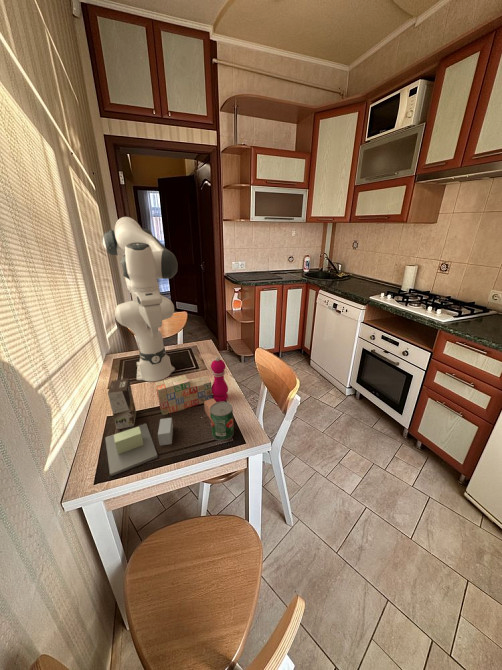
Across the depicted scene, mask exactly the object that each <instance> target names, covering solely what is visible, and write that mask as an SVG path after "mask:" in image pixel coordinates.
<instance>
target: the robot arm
mask: <svg viewBox="0 0 502 670" xmlns="http://www.w3.org/2000/svg"><path fill="white" fill-rule="evenodd" d="M102 245H103V247H104V249H105V250H106V252H107V253H108V254H109V255H110V256H122V257H121V259H120V260H119V261H120V264H121V267H122V272H123V275H122V276H123V277H124V280H125V284H126V288H127V291H128V292H129V293H130V295H131V298H132V300H129V301H125V302H121V303H119V304H117V306H116V307H115V309H114V318H115V319H116V321H117V323H119V324H120V325H121V326H123V327H125V328H126V329H127V328H128V329H129V330H131V332H132V333H133V334H134V335H135V337H136V339H137V344H138V347H139V354H138V355H139V361H136V367H137V369H136V380H137V381H145V382H159V381H163V380H164V379H166V378H168V377H169V376H171V374H172V373H173V372H174V371H175V370H176V368H175V367H174V366H173V365H172V364H171V359H170V356H169V355H167V353H166V347H165V346H164V345H165V344H164V339H163V334H162V332H161V331H160V330H159V328H161V327H162V326H163V321H166V320H168V319H170V318H172V317H173V315H174V313H175V305H174V303H173V302H172V300H171V299H170V298H168V297H166V296H164V295H162V294H161V292H160V288H159V287H160V286H159V285H160V284H159V282H158V279H159V280H160V279H161V280H162V279H165V280H167V279H168V280H170V279H172V278H174V277H175V275H176V274H177V272H178V261H177V260H178V259H177V258H176V255H175V254H174V253H173V252H171V250H169V249H167V248H166V247H165V246H164V245H163V243H162V242H161V241H160V240H159V239H158V238H157V237H156V236H154V234H153V232H152V231H151V230H150V229H147V228H142V227H141V225H140V224H139V223H138V222H137V221H136V220H135V219H133V218H132V217H129V216H123V217H120V218H119V219H117V220H116V222H115V225H114V230H113V229H109V230H107V231H106V232H104V234H103V237H102Z"/></svg>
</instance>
